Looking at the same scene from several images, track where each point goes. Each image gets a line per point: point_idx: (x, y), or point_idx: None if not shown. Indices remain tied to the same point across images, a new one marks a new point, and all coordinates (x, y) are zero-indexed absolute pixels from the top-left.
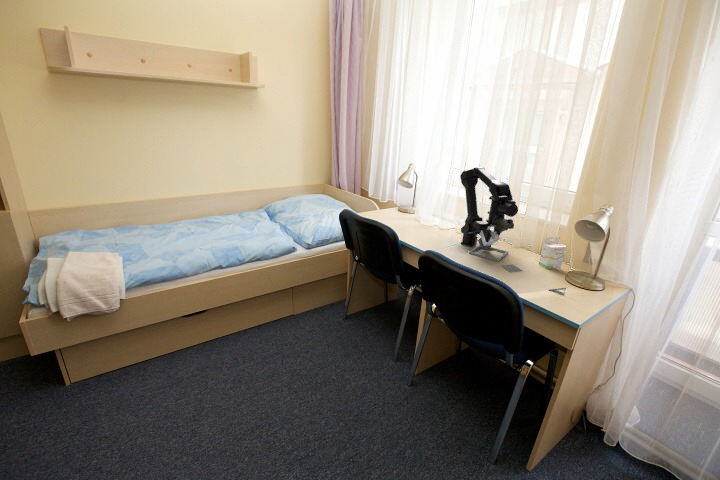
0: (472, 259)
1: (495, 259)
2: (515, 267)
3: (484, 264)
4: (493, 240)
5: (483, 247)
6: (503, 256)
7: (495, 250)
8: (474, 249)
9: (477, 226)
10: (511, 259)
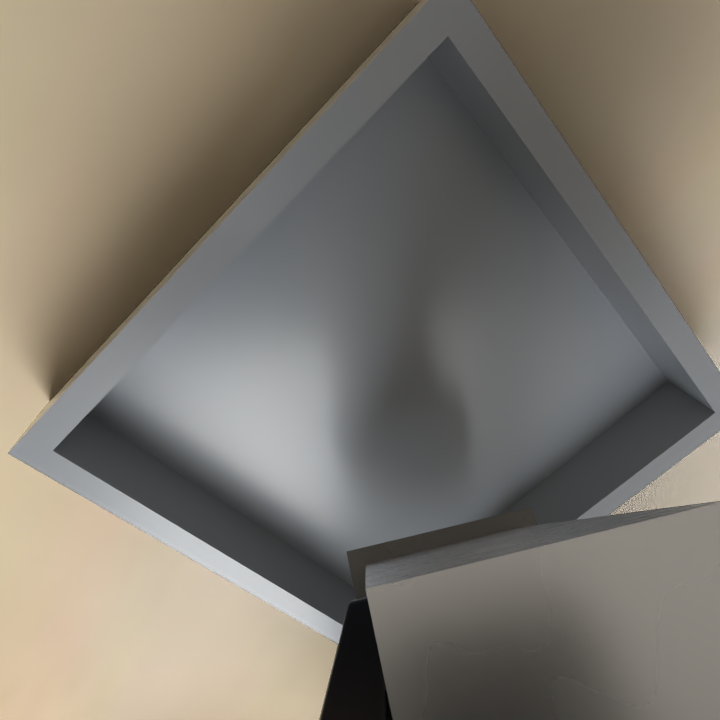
0: (706, 257)
1: (487, 32)
2: None
3: (652, 32)
4: (576, 531)
5: (503, 514)
6: (196, 249)
7: (225, 529)
8: (604, 494)
9: None
10: (9, 270)
